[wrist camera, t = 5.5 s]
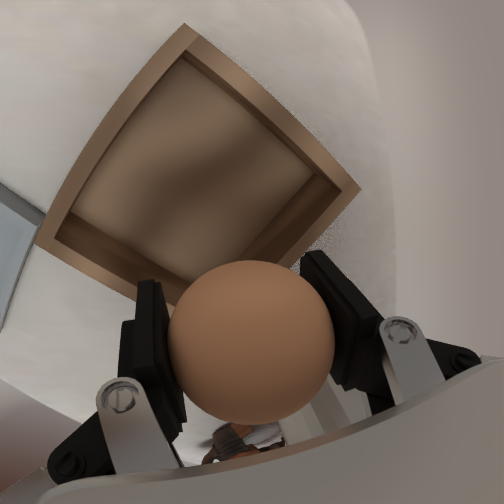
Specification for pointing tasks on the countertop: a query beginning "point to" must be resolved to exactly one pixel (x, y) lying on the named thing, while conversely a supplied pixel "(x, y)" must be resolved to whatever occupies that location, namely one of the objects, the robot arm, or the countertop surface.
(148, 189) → the bin
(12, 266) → the tray
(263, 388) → the ball
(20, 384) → the countertop surface
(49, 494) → the robot arm
